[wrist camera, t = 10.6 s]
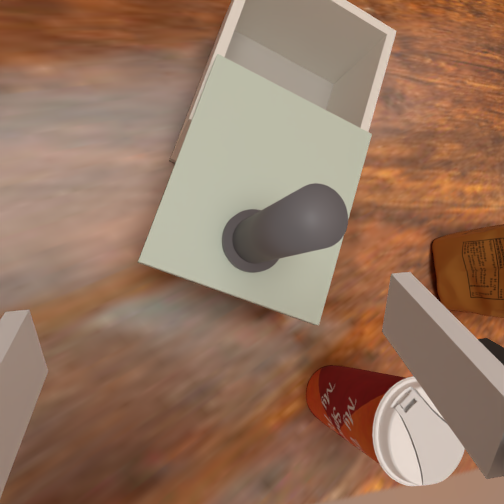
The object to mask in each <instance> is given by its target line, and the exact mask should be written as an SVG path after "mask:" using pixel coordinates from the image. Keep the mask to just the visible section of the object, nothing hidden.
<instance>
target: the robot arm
mask: <svg viewBox="0 0 504 504" xmlns="http://www.w3.org/2000/svg"><path fill="white" fill-rule="evenodd" d="M382 332H383V333H384V335H385V336H386V338H387V339H388V340H389V342H390V343H391V345H392V346H393V348H394V349H395V350H396V352H397V353H398V355H399V356H400V357H401V359H402V360H403V362H404V363H405V365H406V366H407V367H408V369H409V370H410V372H411V373H412V374H413V376H414V377H415V379H416V380H417V381H418V383H419V384H420V386H421V387H422V389H423V390H424V391H425V393H426V394H427V396H428V397H429V398H430V400H431V401H432V403H433V404H434V406H435V407H436V408H437V410H438V411H439V413H440V414H441V415H442V417H443V418H444V420H445V421H446V422H447V424H448V425H449V427H450V428H451V430H452V431H453V432H454V434H455V435H456V437H457V438H458V439H459V441H460V442H461V444H462V445H463V447H464V448H465V449H466V451H467V452H468V454H469V455H470V456H471V458H472V459H473V461H474V462H475V463H476V465H477V466H478V468H479V469H480V471H481V472H482V473H483V475H484V476H485V478H486V479H490V478H495V477H501V476H504V348H503V347H502V346H500V345H498V344H496V343H495V342H493V341H491V340H489V339H488V338H484V339H477V338H476V337H475V336H474V335H473V334H472V333H471V332H470V331H469V330H468V329H467V328H466V327H465V326H464V325H463V324H462V323H461V322H460V321H459V320H458V319H457V318H456V317H455V316H454V315H453V314H452V313H451V312H450V311H449V310H448V309H447V308H446V307H445V306H444V305H443V304H442V303H441V302H440V301H439V300H438V299H437V298H436V297H435V296H434V295H433V294H432V293H431V292H430V291H428V290H427V289H426V288H425V287H424V286H423V285H422V284H421V283H420V282H419V281H418V280H417V279H416V278H415V277H414V276H413V275H412V274H411V273H410V272H404V273H394V274H391V278H390V285H389V291H388V297H387V304H386V310H385V316H384V323H383V329H382ZM47 373H48V369H47V365H46V362H45V359H44V356H43V352H42V349H41V346H40V342H39V339H38V336H37V333H36V329H35V326H34V323H33V320H32V316H31V313H30V310H20V311H10V312H5V313H4V315H3V317H2V318H1V320H0V498H1V495H2V492H3V490H4V487H5V484H6V482H7V479H8V476H9V474H10V471H11V469H12V466H13V463H14V461H15V458H16V455H17V453H18V450H19V447H20V445H21V442H22V439H23V437H24V434H25V431H26V429H27V426H28V423H29V421H30V418H31V416H32V413H33V410H34V408H35V405H36V402H37V400H38V397H39V394H40V392H41V389H42V386H43V384H44V381H45V378H46V376H47Z"/></svg>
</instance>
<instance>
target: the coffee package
mask: <svg viewBox="0 0 504 504" xmlns="http://www.w3.org/2000/svg"><path fill="white" fill-rule="evenodd" d="M432 250H433V255H434V265H435V270H436V278H437V291H438V295H439V297H440V300H441V303H442V304H443V305H444V306H445V307H446V308H447V309H448V310H456V311H464V312H472V313H477V314H480V315H485V316H493V317H500V318H504V224H503V225H496V226H491V227H485V228H479V229H474V230H468V231H463V232H458V233H454V234H449V235H446V236H443V237H440V238H437V239H435V240H434V242H433V245H432Z"/></svg>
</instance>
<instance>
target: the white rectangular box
mask: <svg viewBox="0 0 504 504" xmlns="http://www.w3.org/2000/svg"><path fill="white" fill-rule="evenodd" d="M395 35H396V31H395V30H394V29H392V28H390V27H389V26H387V25H385V24H384V23H382V22H381V21H379V20H377V19H376V18H374V17H372V16H371V15H369V14H367V13H366V12H364V11H363V10H361V9H359V8H358V7H356V6H354V5H353V4H351V3H350V2H348V1H346V0H232V1H231V4H230V6H229V8H228V11H227V13H226V16H225V18H224V20H223V23H222V25H221V28H220V30H219V33H218V36H217V38H216V41H215V43H214V46H213V49H212V51H211V54H210V56H209V59H208V62H207V64H206V67H205V69H204V72H203V75H202V77H201V80H200V82H199V85H198V88H197V90H196V93H195V95H194V98H193V101H192V103H191V106H190V108H189V111H188V114H187V116H186V119H185V121H184V124H183V127H182V129H181V132H180V134H179V137H178V140H177V142H176V145H175V147H174V150H173V153H172V155H171V158H170V160H169V161H170V162H173V163H176V160H177V157H178V155H179V152H180V149H181V147H182V144H183V142H184V139H185V136H186V134H187V131H188V128H189V126H190V123H191V121H192V118H193V115H194V113H195V110H196V107H197V105H198V102H199V100H200V97H201V94H202V92H203V89H204V86H205V84H206V81H207V79H208V76H209V73H210V71H211V68H212V65H213V63H214V60H215V58H216V56H217V54H219V55H221V56H223V57H225V58H227V59H229V60H231V61H233V62H234V63H236V64H238V65H240V66H242V67H244V68H246V69H248V70H250V71H252V72H254V73H256V74H258V75H259V76H261V77H263V78H265V79H267V80H269V81H271V82H273V83H275V84H277V85H279V86H281V87H282V88H284V89H286V90H288V91H290V92H292V93H294V94H296V95H298V96H300V97H302V98H304V99H306V100H307V101H309V102H311V103H313V104H315V105H317V106H319V107H321V108H323V109H325V110H327V111H329V112H331V113H332V114H334V115H336V116H338V117H340V118H342V119H344V120H346V121H348V122H350V123H352V124H354V125H355V126H357V127H359V128H361V129H363V130H365V131H367V132H368V131H369V128H370V124H371V120H372V117H373V113H374V110H375V106H376V103H377V99H378V96H379V92H380V88H381V85H382V81H383V78H384V74H385V71H386V67H387V63H388V60H389V56H390V53H391V49H392V46H393V42H394V38H395Z"/></svg>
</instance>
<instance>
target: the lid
mask: <svg viewBox="0 0 504 504" xmlns="http://www.w3.org/2000/svg"><path fill="white" fill-rule="evenodd" d="M371 136H372V134H371V133H369V132H367V131H365V130H363V129H361V128H359V127H357V126H355V125H354V124H352V123H350V122H348V121H346V120H344V119H342V118H340V117H338V116H336V115H334V114H332V113H331V112H329V111H327V110H325V109H323V108H321V107H319V106H317V105H315V104H313V103H311V102H309V101H307V100H306V99H304V98H302V97H300V96H298V95H296V94H294V93H292V92H290V91H288V90H286V89H284V88H282V87H281V86H279V85H277V84H275V83H273V82H271V81H269V80H267V79H265V78H263V77H261V76H259V75H258V74H256V73H254V72H252V71H250V70H248V69H246V68H244V67H242V66H240V65H238V64H236V63H234V62H233V61H231V60H229V59H227V58H225V57H223V56H221V55H219V54H217V56H216V58H215V60H214V63H213V65H212V68H211V71H210V73H209V76H208V79H207V81H206V84H205V86H204V89H203V92H202V94H201V97H200V100H199V102H198V105H197V107H196V110H195V113H194V115H193V118H192V121H191V123H190V126H189V128H188V131H187V134H186V136H185V139H184V142H183V144H182V147H181V149H180V152H179V155H178V157H177V160H176V163H175V165H174V168H173V170H172V173H171V176H170V178H169V181H168V184H167V186H166V189H165V191H164V194H163V197H162V199H161V202H160V205H159V207H158V210H157V213H156V215H155V218H154V220H153V223H152V226H151V228H150V231H149V234H148V236H147V239H146V241H145V244H144V247H143V249H142V252H141V255H140V257H139V260H138V263H141V264H143V265H146V266H149V267H152V268H155V269H157V270H160V271H163V272H166V273H169V274H172V275H174V276H177V277H180V278H183V279H186V280H189V281H191V282H194V283H197V284H200V285H203V286H206V287H208V288H211V289H214V290H217V291H220V292H223V293H225V294H228V295H231V296H234V297H237V298H240V299H242V300H245V301H248V302H251V303H254V304H257V305H259V306H262V307H265V308H268V309H271V310H274V311H276V312H279V313H282V314H285V315H288V316H290V317H293V318H296V319H299V320H302V321H305V322H307V323H310V324H313V325H319V323H320V319H321V316H322V312H323V308H324V305H325V301H326V298H327V294H328V290H329V287H330V283H331V280H332V276H333V272H334V269H335V265H336V262H337V258H338V254H339V251H340V247H341V244H342V240H343V236H344V234H345V232H346V229H347V225H348V218H349V215H350V211H351V208H352V204H353V200H354V197H355V193H356V190H357V186H358V182H359V179H360V175H361V172H362V168H363V164H364V161H365V157H366V154H367V150H368V146H369V143H370V139H371Z"/></svg>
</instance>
